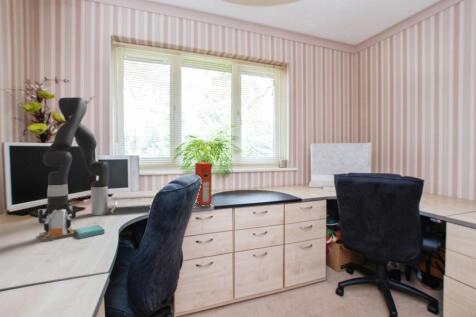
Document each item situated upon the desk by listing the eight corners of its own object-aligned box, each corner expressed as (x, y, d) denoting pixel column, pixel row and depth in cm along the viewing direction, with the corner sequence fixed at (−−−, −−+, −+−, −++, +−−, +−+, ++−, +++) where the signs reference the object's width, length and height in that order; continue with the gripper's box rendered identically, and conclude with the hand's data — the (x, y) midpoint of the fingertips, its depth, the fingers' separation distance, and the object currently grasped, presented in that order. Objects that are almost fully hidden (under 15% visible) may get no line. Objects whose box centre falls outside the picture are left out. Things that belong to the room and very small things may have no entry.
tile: (74, 233, 111) (74, 228, 111) (97, 228, 118) (97, 224, 118) (79, 238, 104) (79, 233, 104) (104, 233, 111) (104, 228, 111)
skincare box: (47, 237, 105) (47, 211, 105) (52, 234, 109) (52, 208, 109) (63, 236, 106) (63, 210, 106) (67, 233, 110) (67, 208, 110)
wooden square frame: (39, 235, 107) (39, 232, 107) (70, 229, 116) (70, 227, 116) (43, 242, 99) (43, 239, 99) (76, 235, 108) (76, 232, 108)
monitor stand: (109, 214, 146) (109, 197, 146) (114, 205, 172) (115, 191, 172) (170, 210, 160) (170, 194, 160) (166, 202, 186) (166, 189, 186)
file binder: (200, 206, 173) (201, 163, 173) (194, 201, 188) (195, 162, 188) (211, 205, 176) (211, 163, 176) (204, 201, 192) (204, 162, 192)
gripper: (74, 191, 115) (74, 224, 115) (36, 195, 105) (36, 231, 105) (78, 193, 110) (78, 228, 110) (38, 197, 100) (38, 235, 100)
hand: (57, 229), depth 108 cm, fingers closed on skincare box, 7 cm apart
